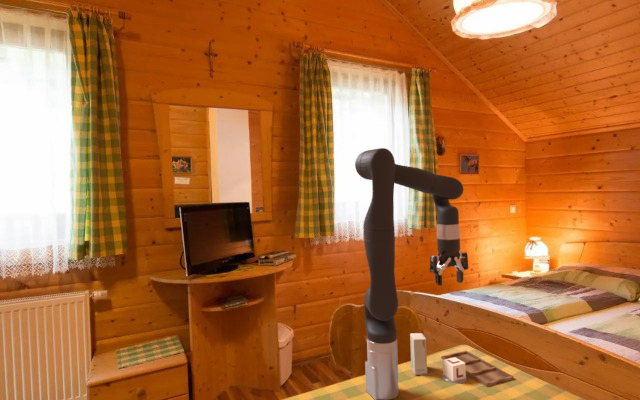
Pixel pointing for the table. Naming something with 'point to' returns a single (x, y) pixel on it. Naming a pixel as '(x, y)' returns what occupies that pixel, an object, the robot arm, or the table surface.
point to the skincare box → (418, 353)
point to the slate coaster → (454, 381)
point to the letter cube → (454, 369)
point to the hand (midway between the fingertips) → (449, 283)
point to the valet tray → (480, 369)
